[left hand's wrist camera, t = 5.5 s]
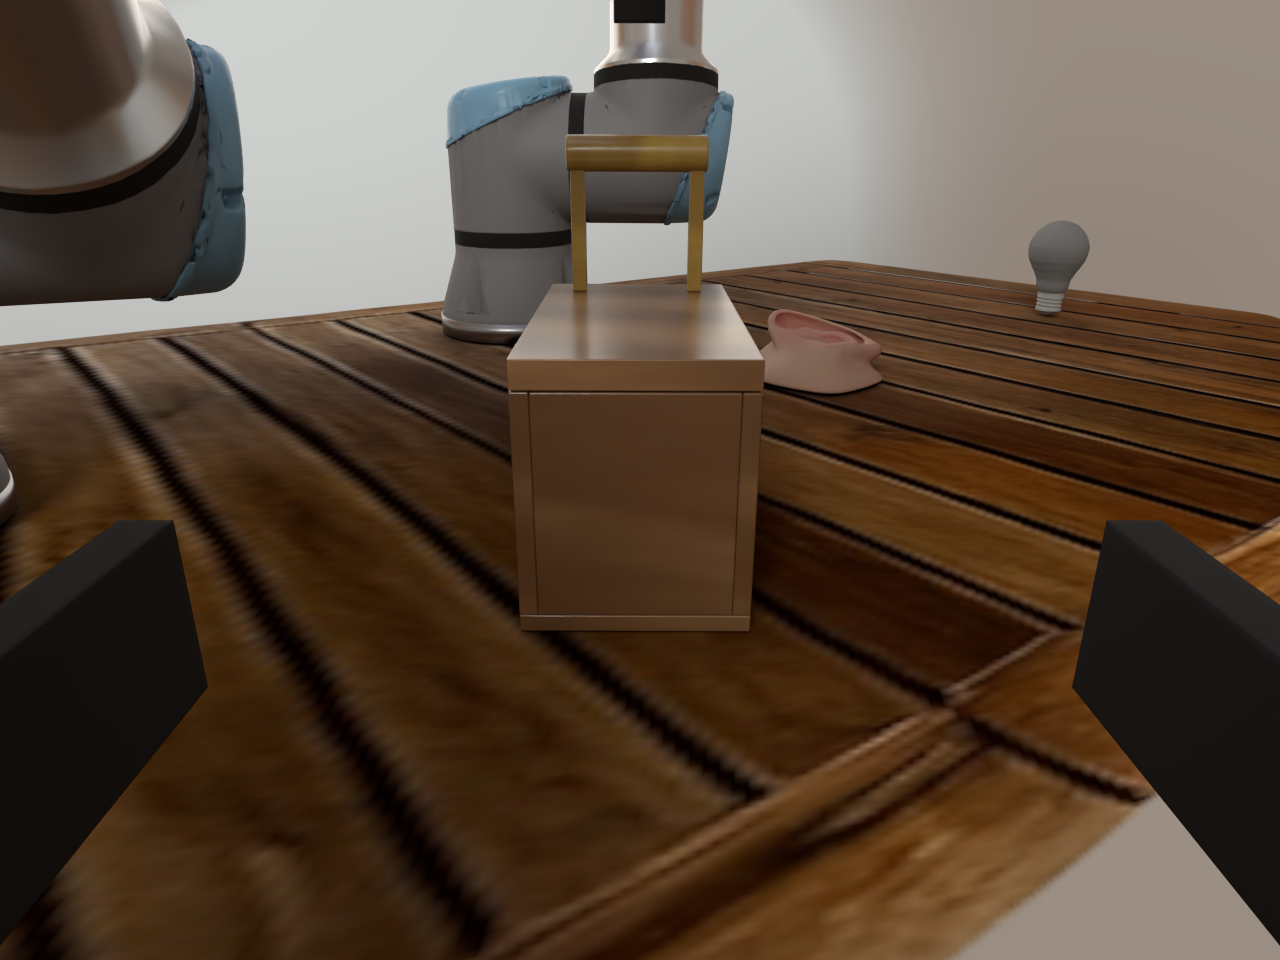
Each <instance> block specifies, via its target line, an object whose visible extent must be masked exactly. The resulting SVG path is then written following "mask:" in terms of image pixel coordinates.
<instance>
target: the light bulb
mask: <svg viewBox="0 0 1280 960" xmlns="http://www.w3.org/2000/svg"><path fill="white" fill-rule="evenodd" d="M1089 248H1090V247H1089V240H1088V237H1087V235H1086V233H1085V232H1084V231H1083V229H1082V228H1081V227H1080V226H1079V225H1077V224H1075V223H1072V222H1069V221H1056V222H1052V223H1049V224H1047V225H1045V226H1044V227H1042V228H1041V229H1040V230H1039V231H1038V232H1037V233H1036V234H1035V235H1034V237H1033V238H1032V240H1031V242H1030V245H1029V260H1030V262H1031V265H1032V267H1033V270H1034V272H1035V275H1036V287H1037V290H1038V295H1037V297H1039V298H1037V300H1038V302H1036V303H1037V304H1038V305H1036V307H1035V309H1036V310H1038V311H1040V312H1041V313H1042V314H1054V313H1057V312H1059V311H1061V308H1060V307H1062V306H1061V305H1060V304H1061V303H1062V302H1061V299H1063V296H1064V293H1065V291H1066V290H1067V289H1068V286H1069V283H1070V281H1071V279H1072V277H1073V276H1074V275H1075V273H1076V272H1077V271H1078V270H1079V269H1080V267H1081V266H1082V265H1083V263H1084V262H1085V260H1086V258H1087V256H1088V253H1089Z"/></svg>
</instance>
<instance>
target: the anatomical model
mask: <svg viewBox="0 0 1280 960" xmlns="http://www.w3.org/2000/svg"><path fill="white" fill-rule="evenodd" d="M768 331H769V334H770V337H771V338H772V341H771V342H770V343H769V344H768V345H767V346H765V347H764V348H763V349H762V350H761V351H760V353H761V354H762V356H763V358H764V359H765V373H764V382H765V383H769V384H772V385H777V386H781V387H786V388H791V389H796V390H802V391H808V392H815V393H825V394H837V393H845V392H850V391H854V390H858V389H862V388H865V387H869V386H871V385H874V384H876V383H878V382H880V381H881V380H882V376H881V375H880V374H879V373H878V372H877V371H876V370H875V369H874V368H873V367H872V365H871V363H870V362H871V361H872V360H874V359H875V358H877V357H878V356H879V355H880V354H881V346H880V345H879V344H878V343H876V342H874V341H873V340H871V339H869V338H867V337H866V336H864V335H862V334H860V333H858V332H856V331H854V330H852V329H850V328H847V327H844V326H842V325H839V324H836V323H833V322H830V321H827V320H824V319H821V318H817V317H814V316H811V315H807V314H804V313H800V312H796V311H791V310H777V311H774V312H773V313H772V314H771V315H770V316H769V319H768Z"/></svg>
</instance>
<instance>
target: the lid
mask: <svg viewBox="0 0 1280 960" xmlns="http://www.w3.org/2000/svg"><path fill="white" fill-rule="evenodd" d="M708 164H709V137H708V136H707V135H567V136H566V166H567V170H568V171H569V172H570V189H571V230H572V272H573V284H553V285H552V286H551V288H550V290H549V291H548V293H547V294H546V296H545V298H544V299H543V301H542V303H541V304H540V306H539V307H538V309H537V311H536V312H535V314H534V316H533V317H532V319H531V320H530V322H529V324H528V325H527V327H526V329H525V330H524V332H523V333H522V335H521V337H520V338H519V340H518V342H517V343H516V345H515V346H514V348H513V350H512V351H511V353H510V354H509V356H508V358H507V360H506V364H507V383H508V390H509V391H763V390H764V373H765V359H764V358H763V356H762V354H761V353H760V351H759V349H758V347H757V346H756V344H755V342H754V340H753V339H752V337H751V335H750V333H749V332H748V330H747V328H746V326H745V325H744V323H743V321H742V319H741V318H740V316H739V314H738V312H737V311H736V309H735V307H734V306H733V304H732V302H731V300H730V299H729V297H728V295H727V293H726V292H725V290H724V288H723V286H722V285H721V284H701V281H702V246H703V211H704V177H705V172H707V170H708ZM585 172H690V174H689V218H688V262H687V284H587V243H586V187H585Z"/></svg>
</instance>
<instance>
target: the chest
mask: <svg viewBox="0 0 1280 960" xmlns="http://www.w3.org/2000/svg"><path fill="white" fill-rule="evenodd" d="M508 401H509V420H510V439H511V457H512V476H513V495H514V514H515V533H516V552H517V571H518V589H519V608H520V627H521V630H522V631H749V630H750V618H751V616H750V614H751V600H752V583H753V565H754V547H755V530H756V512H757V494H758V477H759V459H760V441H761V424H762V406H763V393H762V391H509V393H508Z"/></svg>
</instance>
